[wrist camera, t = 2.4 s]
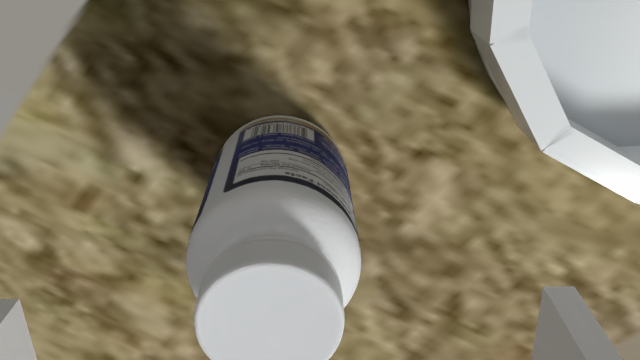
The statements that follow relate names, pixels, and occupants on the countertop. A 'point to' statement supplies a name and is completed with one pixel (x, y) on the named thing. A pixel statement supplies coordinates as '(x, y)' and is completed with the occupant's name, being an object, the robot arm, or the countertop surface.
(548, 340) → the robot arm
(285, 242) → the pill bottle
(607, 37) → the dish
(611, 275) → the countertop surface
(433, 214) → the countertop surface
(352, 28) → the countertop surface
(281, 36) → the countertop surface
